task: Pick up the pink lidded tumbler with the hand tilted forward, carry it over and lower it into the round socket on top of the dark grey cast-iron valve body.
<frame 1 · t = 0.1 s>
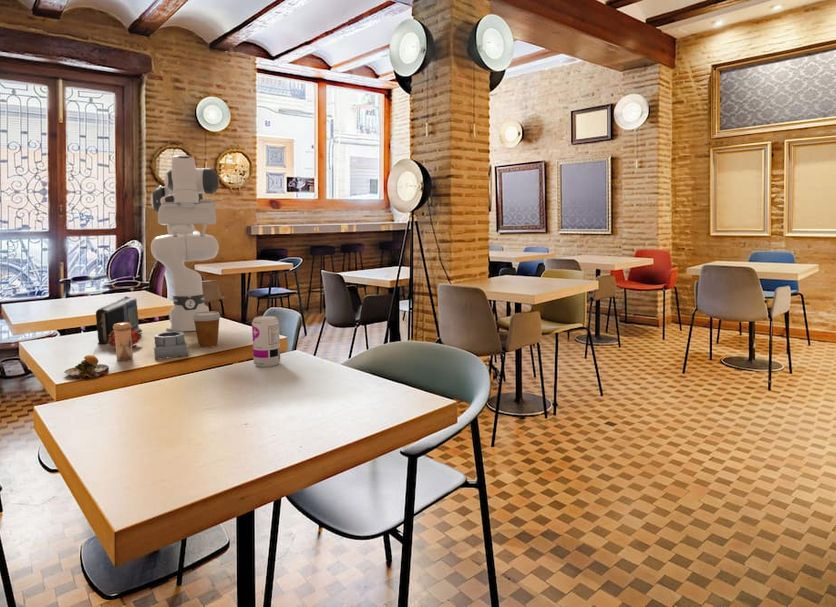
hand: (188, 236, 219), 39 cm above the table, tool pointing down, fingers open, 8 cm apart
valve body: (170, 354, 201), on the table
burger: (87, 375, 178), on the table
dragon fruit: (125, 348, 212), on the table
radio: (120, 339, 228), on the table
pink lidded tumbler: (125, 359, 195), on the table
disposable coffee cup: (208, 346, 214), on the table
supplement can: (267, 364, 188), on the table
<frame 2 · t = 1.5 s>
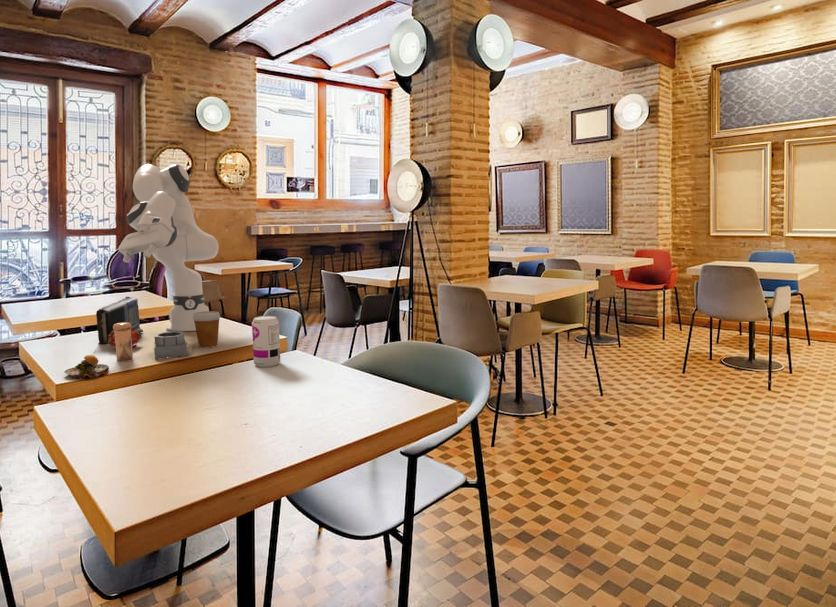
hand: (136, 259, 201), 32 cm above the table, tool tilted 45°, fingers open, 8 cm apart
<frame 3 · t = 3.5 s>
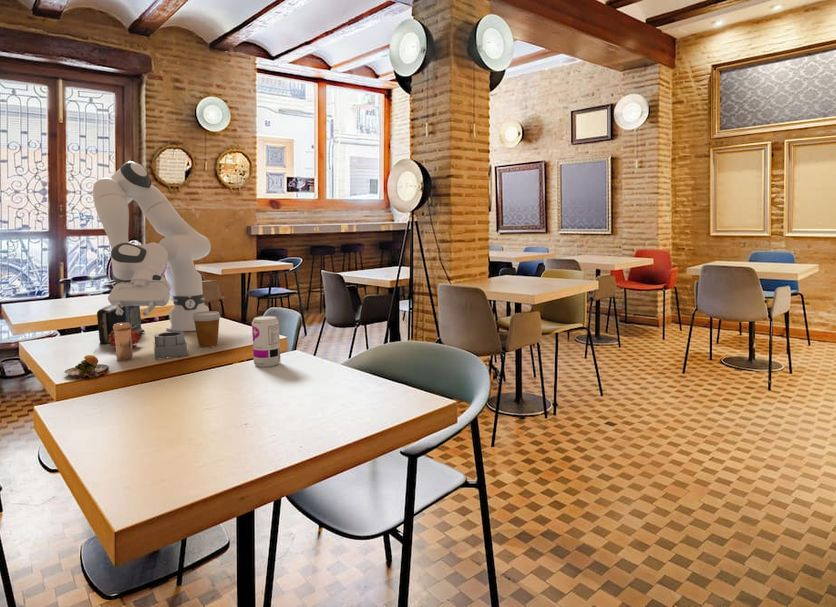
hand: (131, 314, 201), 14 cm above the table, tool tilted 45°, fingers open, 8 cm apart
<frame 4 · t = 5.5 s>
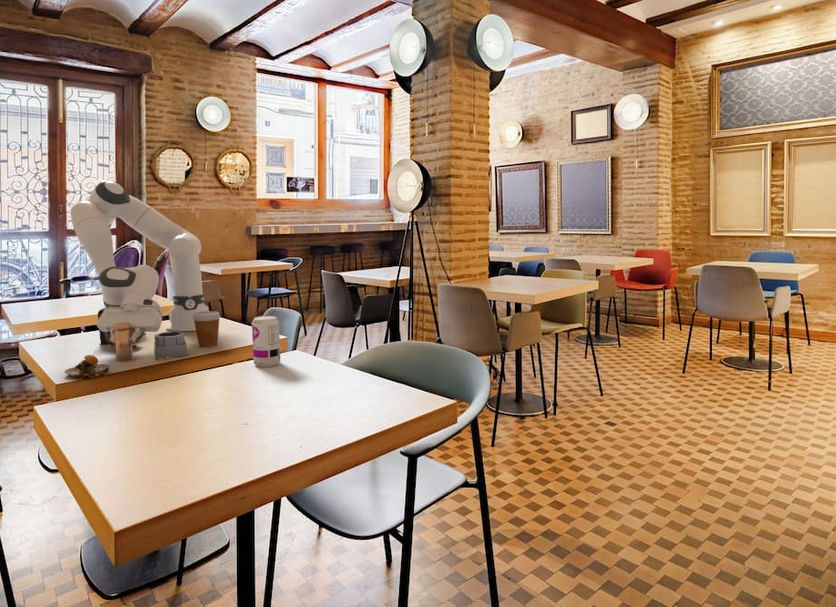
hand: (122, 341, 193), 6 cm above the table, tool tilted 45°, fingers closed on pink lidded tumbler, 5 cm apart
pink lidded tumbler: (125, 359, 195), on the table, touching gripper
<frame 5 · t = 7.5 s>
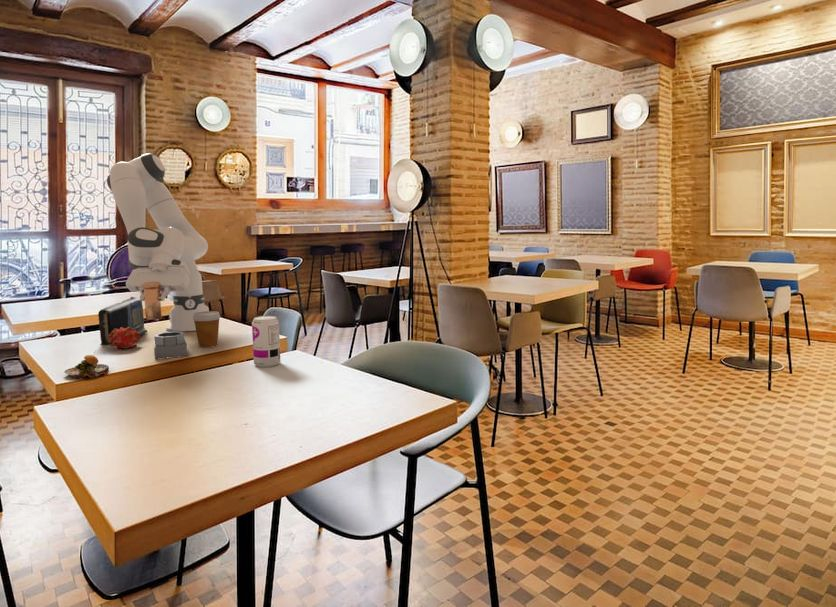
hand: (151, 299, 196), 19 cm above the table, tool tilted 45°, fingers closed on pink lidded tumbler, 5 cm apart
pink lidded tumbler: (153, 318, 197), point 13 cm above the table, touching gripper
when the fingers open (12 cm above the table, at t = 9.7 s): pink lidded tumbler drops 1 cm, resting on valve body.
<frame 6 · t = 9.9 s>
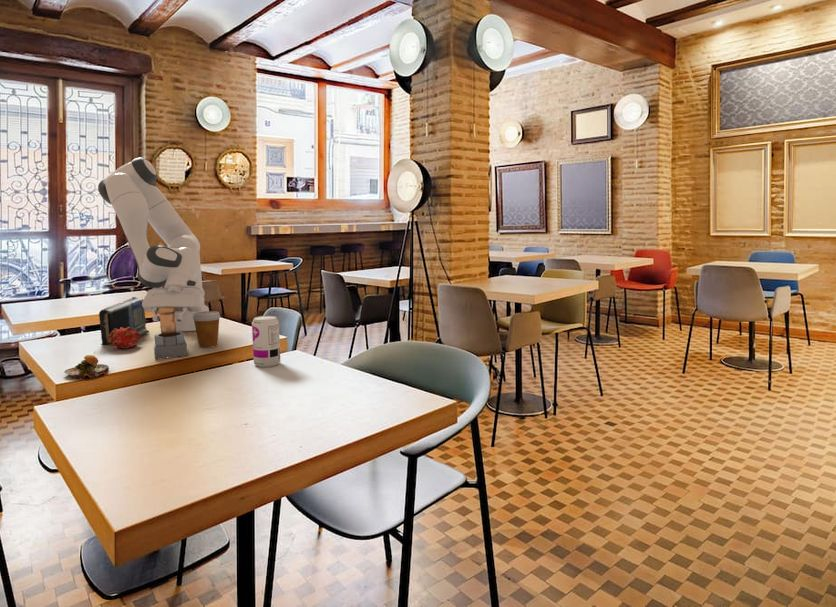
hand: (167, 320, 199), 12 cm above the table, tool tilted 45°, fingers open, 7 cm apart
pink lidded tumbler: (169, 342, 201), point 4 cm above the table, touching valve body
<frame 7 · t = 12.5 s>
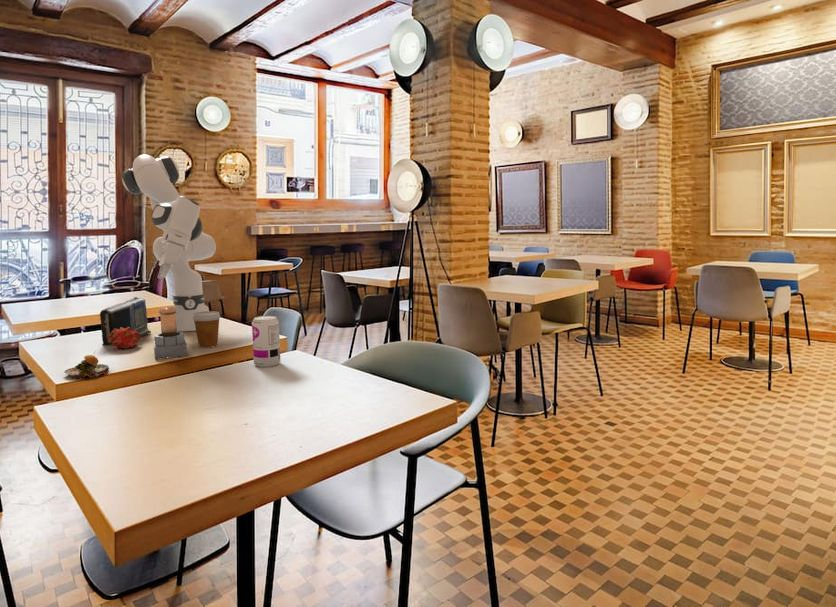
hand: (161, 277, 205), 25 cm above the table, tool tilted 25°, fingers open, 8 cm apart
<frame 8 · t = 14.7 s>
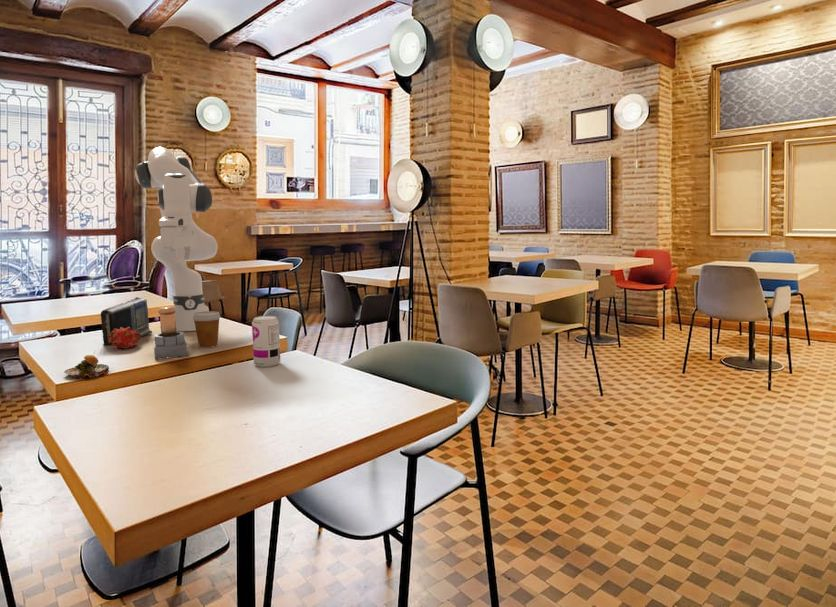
hand: (181, 260, 207), 31 cm above the table, tool pointing down, fingers open, 8 cm apart
at the end: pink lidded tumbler 0.0 cm off-centre on the valve body, point 4.0 cm above the valve body's base; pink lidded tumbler tilted 1°; the gripper is holding nothing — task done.
